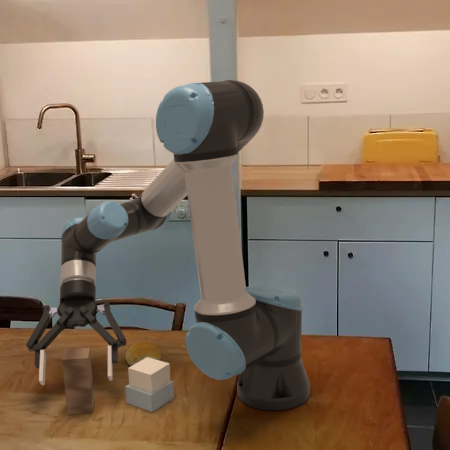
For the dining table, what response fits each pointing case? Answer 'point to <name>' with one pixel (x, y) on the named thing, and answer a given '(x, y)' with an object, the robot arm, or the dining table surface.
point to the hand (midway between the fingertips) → (76, 380)
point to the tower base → (149, 397)
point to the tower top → (149, 374)
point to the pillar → (78, 381)
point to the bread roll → (142, 352)
